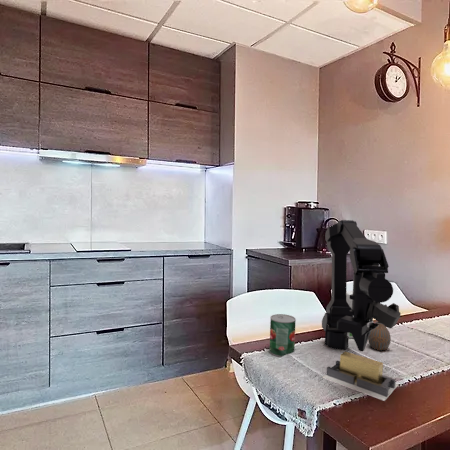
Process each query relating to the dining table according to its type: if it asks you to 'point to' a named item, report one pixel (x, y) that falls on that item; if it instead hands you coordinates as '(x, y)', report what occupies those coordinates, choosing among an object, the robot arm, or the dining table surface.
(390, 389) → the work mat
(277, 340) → the canned tomato
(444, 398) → the dining table surface
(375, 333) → the brown egg-shaped piece
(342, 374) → the gray two-section tray
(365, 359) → the tan block
